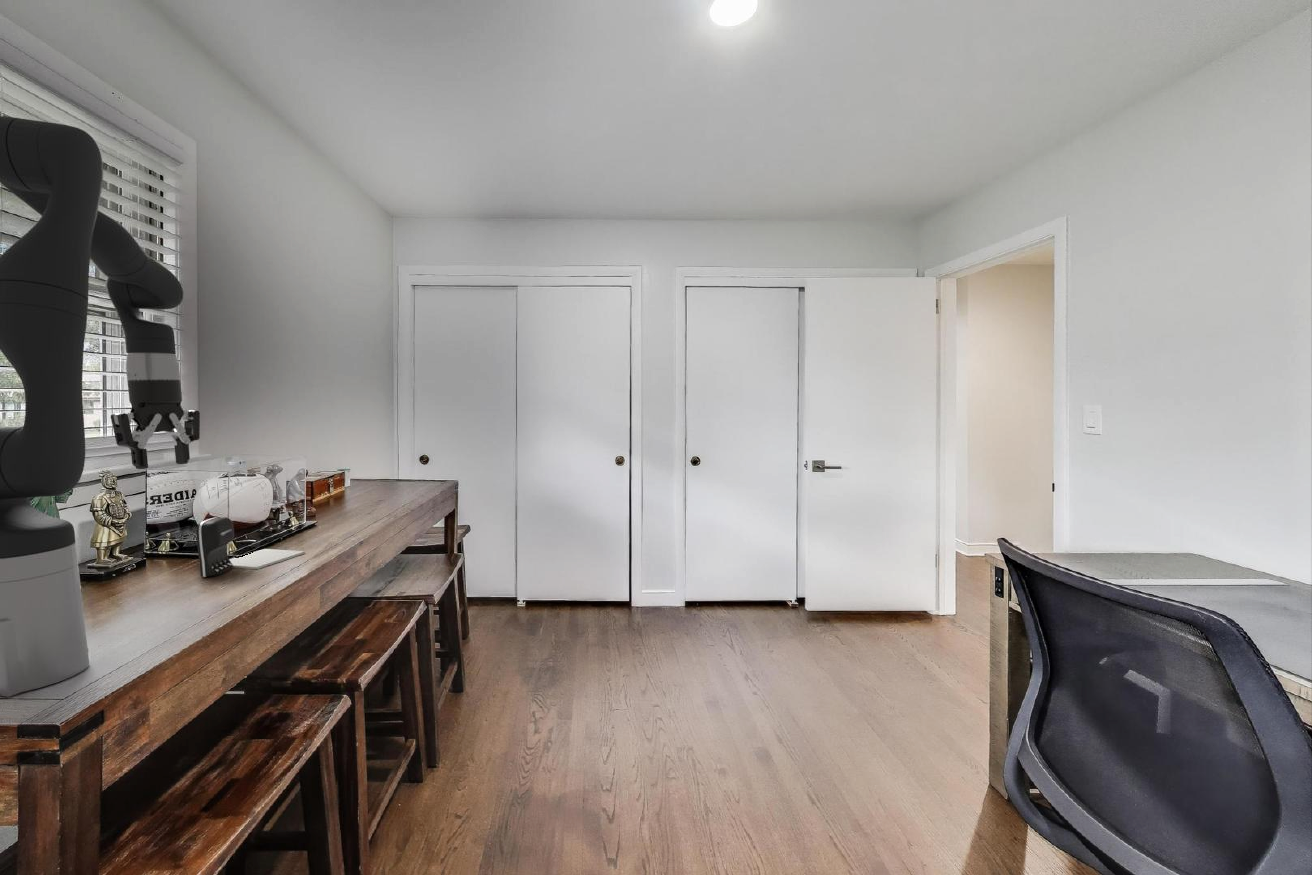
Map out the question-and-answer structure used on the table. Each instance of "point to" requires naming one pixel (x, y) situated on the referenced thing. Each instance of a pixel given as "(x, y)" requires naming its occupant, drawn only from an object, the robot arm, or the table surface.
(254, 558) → the mat
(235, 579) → the table surface
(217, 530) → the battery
